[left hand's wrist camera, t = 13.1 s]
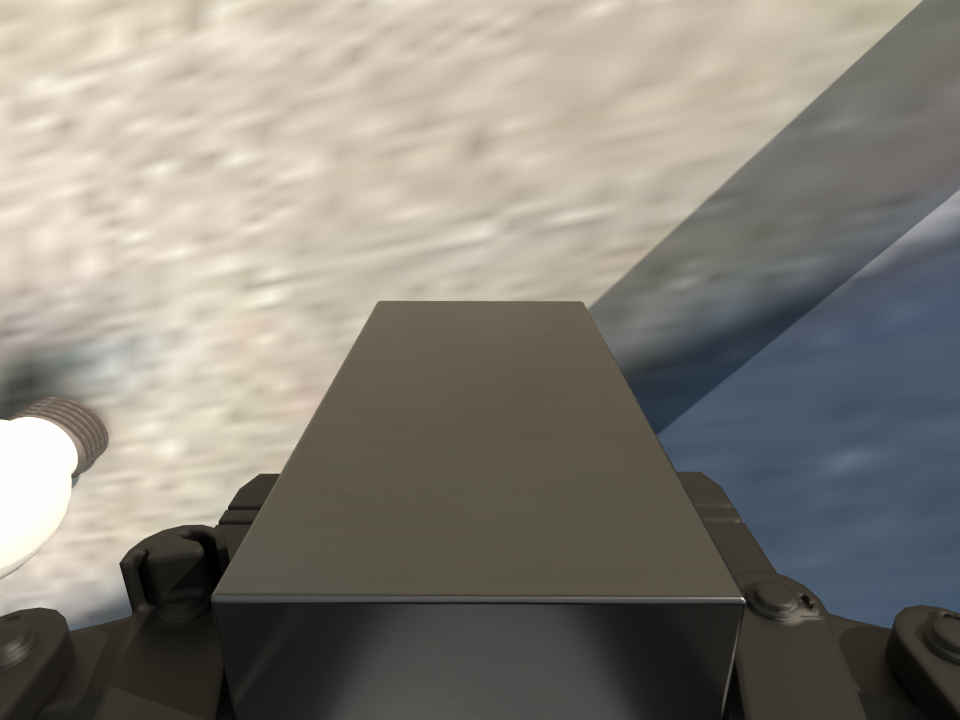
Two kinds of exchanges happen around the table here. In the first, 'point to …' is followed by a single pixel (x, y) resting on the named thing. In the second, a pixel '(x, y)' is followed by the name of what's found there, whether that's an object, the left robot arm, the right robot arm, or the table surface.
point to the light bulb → (41, 472)
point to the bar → (478, 539)
